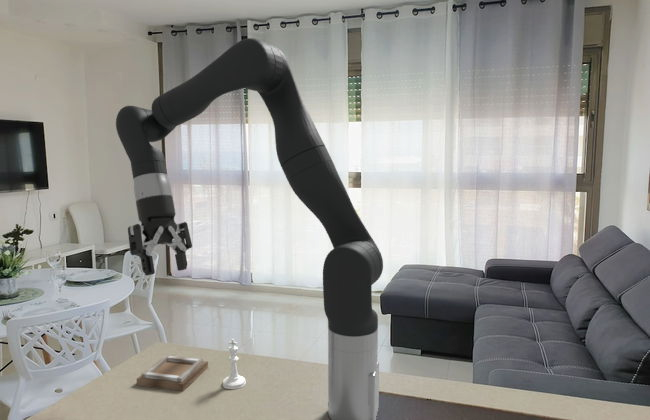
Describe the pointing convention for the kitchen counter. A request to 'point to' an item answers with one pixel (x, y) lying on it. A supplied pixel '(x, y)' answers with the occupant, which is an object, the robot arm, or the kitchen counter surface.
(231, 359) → the chess piece
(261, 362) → the kitchen counter surface
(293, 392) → the kitchen counter surface
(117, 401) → the kitchen counter surface
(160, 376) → the walnut board
